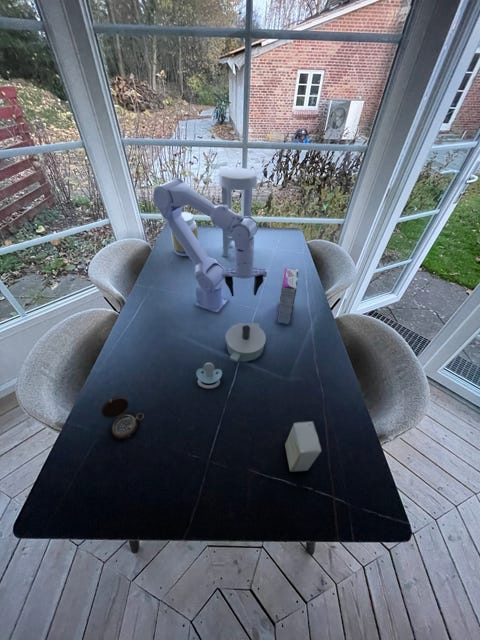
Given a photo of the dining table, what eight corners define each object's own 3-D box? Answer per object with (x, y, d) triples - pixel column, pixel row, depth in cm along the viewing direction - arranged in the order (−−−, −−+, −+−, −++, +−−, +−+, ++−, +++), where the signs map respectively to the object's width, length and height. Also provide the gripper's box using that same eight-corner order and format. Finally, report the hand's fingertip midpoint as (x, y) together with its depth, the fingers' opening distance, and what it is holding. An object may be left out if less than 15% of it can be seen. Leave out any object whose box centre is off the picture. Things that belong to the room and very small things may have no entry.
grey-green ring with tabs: (216, 359, 82) (216, 350, 79) (240, 325, 93) (240, 316, 90) (250, 373, 78) (251, 364, 75) (271, 336, 90) (272, 327, 87)
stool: (224, 242, 137) (222, 166, 112) (253, 245, 135) (258, 168, 111) (218, 258, 125) (215, 177, 101) (250, 261, 124) (255, 180, 100)
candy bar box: (278, 303, 102) (284, 267, 91) (291, 305, 101) (299, 269, 90) (275, 323, 94) (281, 286, 83) (289, 325, 93) (297, 288, 82)
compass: (116, 445, 63) (106, 431, 58) (106, 419, 68) (96, 404, 62) (149, 425, 66) (142, 412, 61) (137, 402, 71) (130, 387, 66)
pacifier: (220, 390, 74) (222, 372, 79) (220, 378, 70) (222, 359, 74) (194, 388, 75) (198, 370, 79) (192, 376, 70) (196, 358, 74)
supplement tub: (195, 243, 136) (191, 209, 124) (202, 254, 128) (199, 219, 116) (171, 247, 132) (165, 213, 120) (177, 259, 124) (171, 224, 112)
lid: (217, 344, 81) (217, 332, 78) (238, 320, 89) (239, 309, 86) (253, 361, 77) (254, 350, 73) (272, 334, 85) (274, 323, 81)
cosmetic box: (284, 444, 64) (292, 421, 55) (302, 443, 64) (313, 420, 56) (290, 473, 59) (299, 452, 51) (309, 471, 60) (322, 451, 51)
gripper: (265, 251, 85) (263, 286, 94) (220, 253, 84) (222, 288, 93) (269, 263, 80) (265, 298, 89) (220, 265, 79) (222, 300, 88)
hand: (243, 294), depth 91 cm, fingers open, 7 cm apart
